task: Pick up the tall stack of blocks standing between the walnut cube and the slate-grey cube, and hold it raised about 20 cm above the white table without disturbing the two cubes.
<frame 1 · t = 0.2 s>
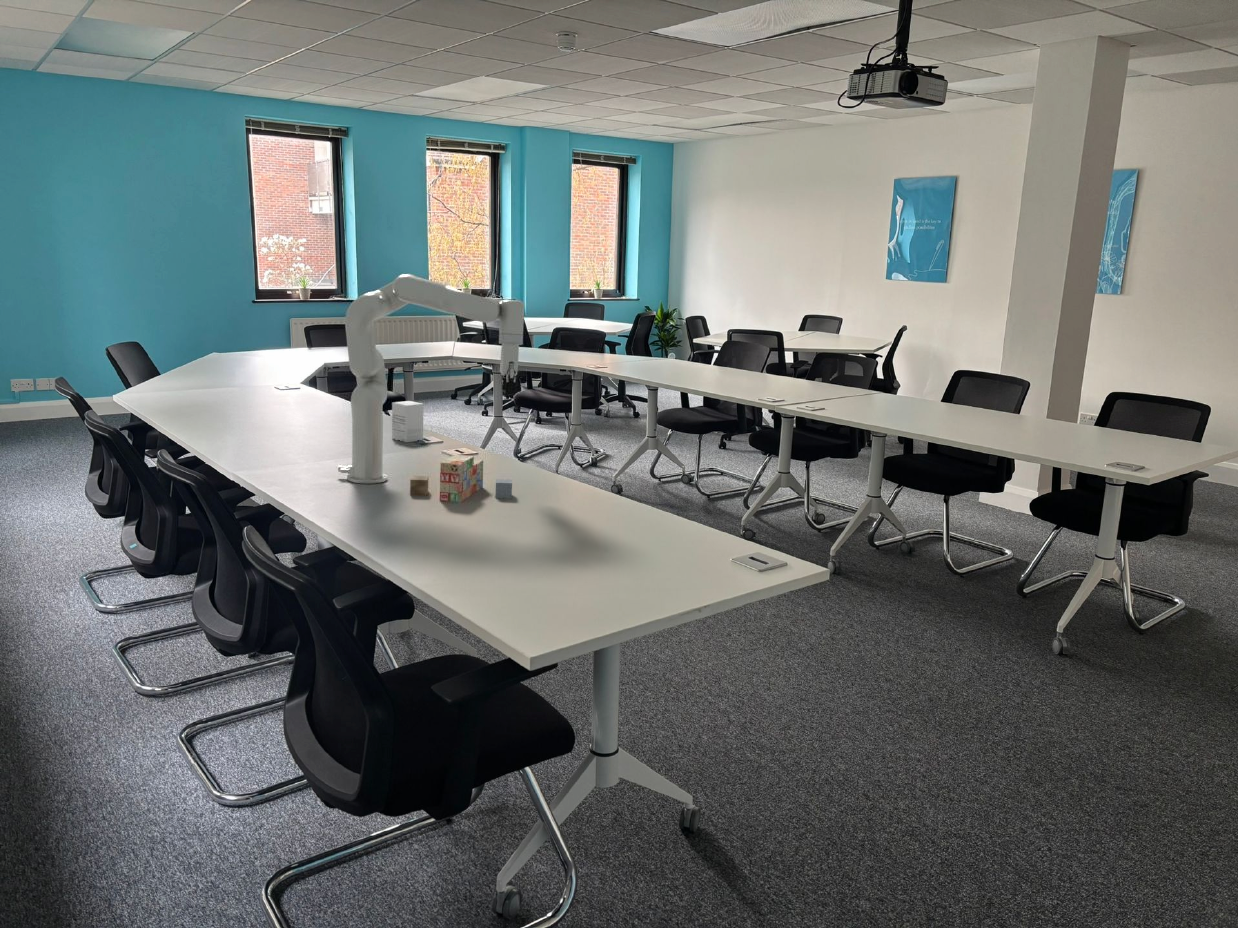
hand: (508, 392, 285), 31 cm above the table, tool pointing down, fingers open, 9 cm apart
slate cube: (503, 496, 278), on the table
walnut cube: (419, 493, 274), on the table
supplement box: (407, 440, 354), on the table
stack of blocks: (461, 494, 277), on the table
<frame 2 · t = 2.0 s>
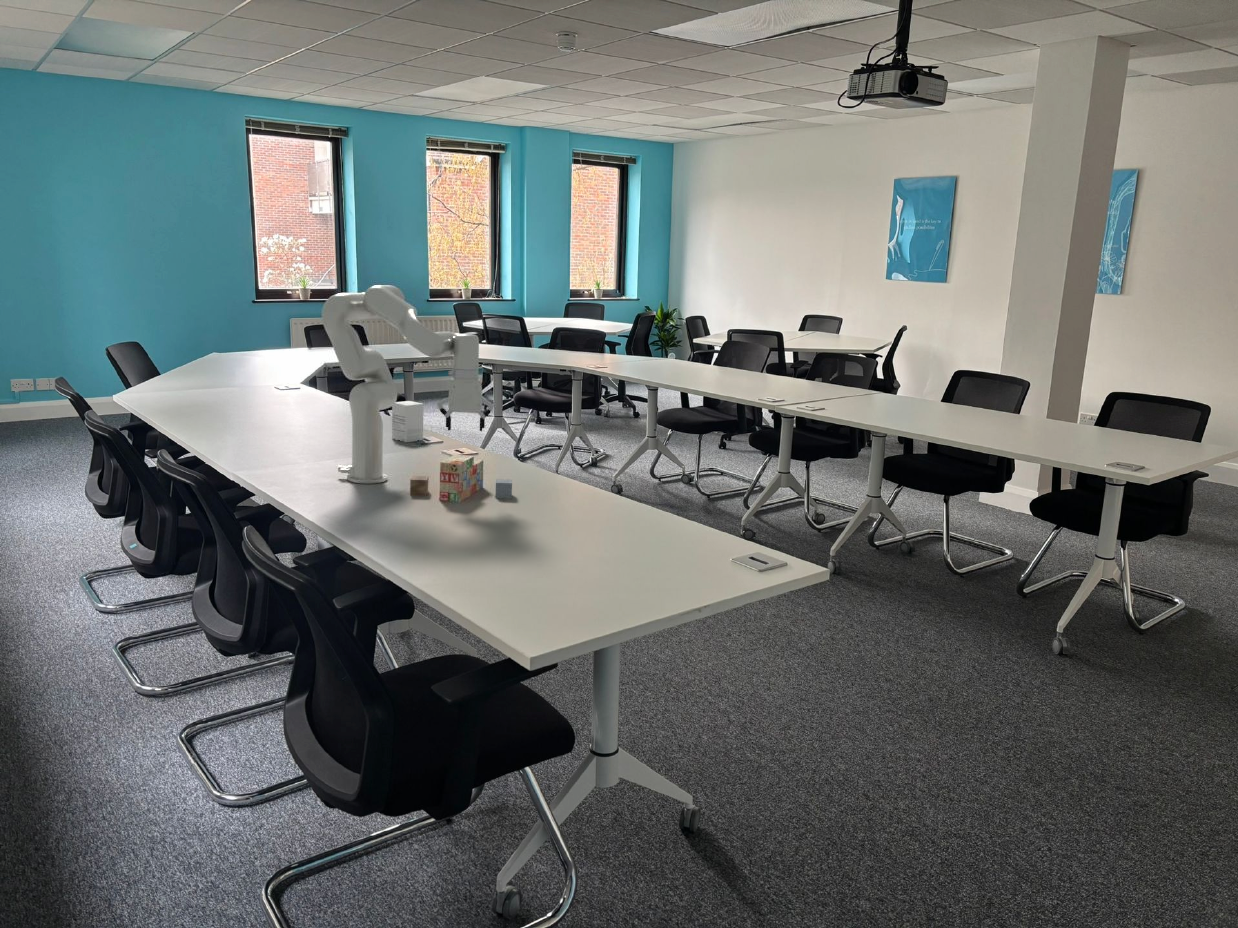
hand: (465, 430, 272), 20 cm above the table, tool pointing down, fingers open, 9 cm apart
nothing on the table moved.
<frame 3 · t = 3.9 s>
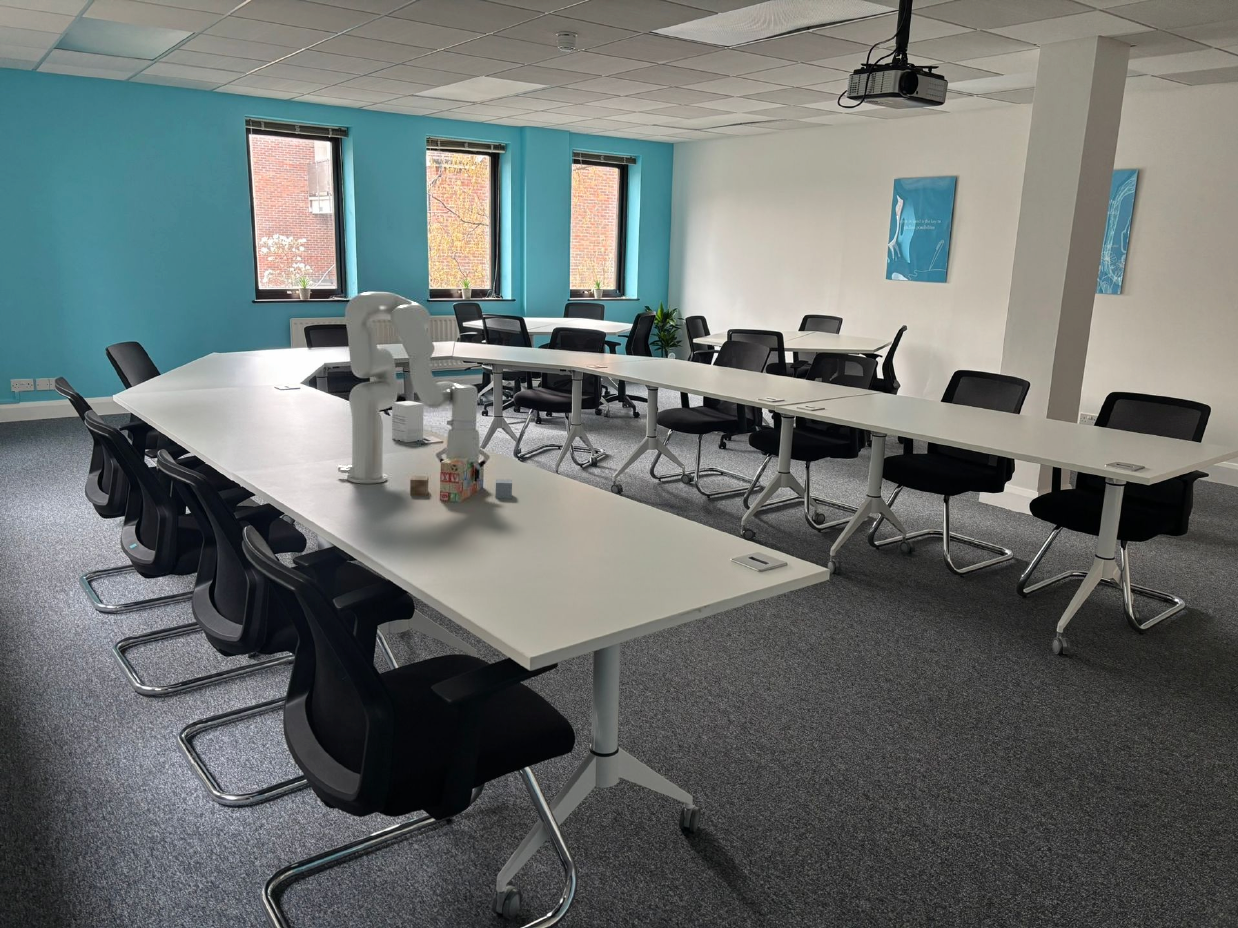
hand: (462, 480, 276), 4 cm above the table, tool pointing down, fingers open, 7 cm apart
stack of blocks: (462, 494, 278), on the table, touching gripper
everything else where it was.
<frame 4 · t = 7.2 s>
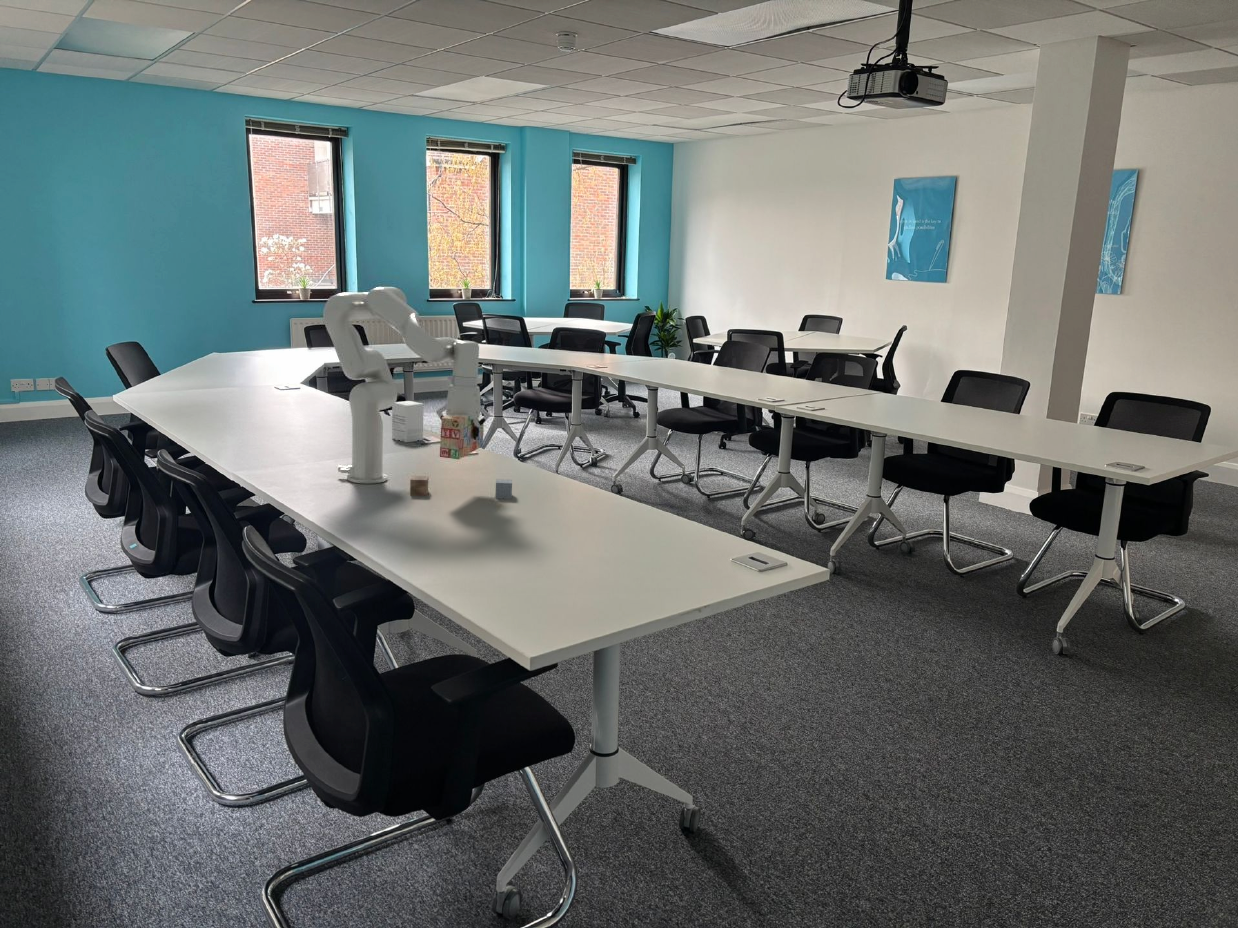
hand: (461, 437, 273), 18 cm above the table, tool pointing down, fingers closed on stack of blocks, 7 cm apart
stack of blocks: (461, 452, 275), point 13 cm above the table, touching gripper
everything else where it was.
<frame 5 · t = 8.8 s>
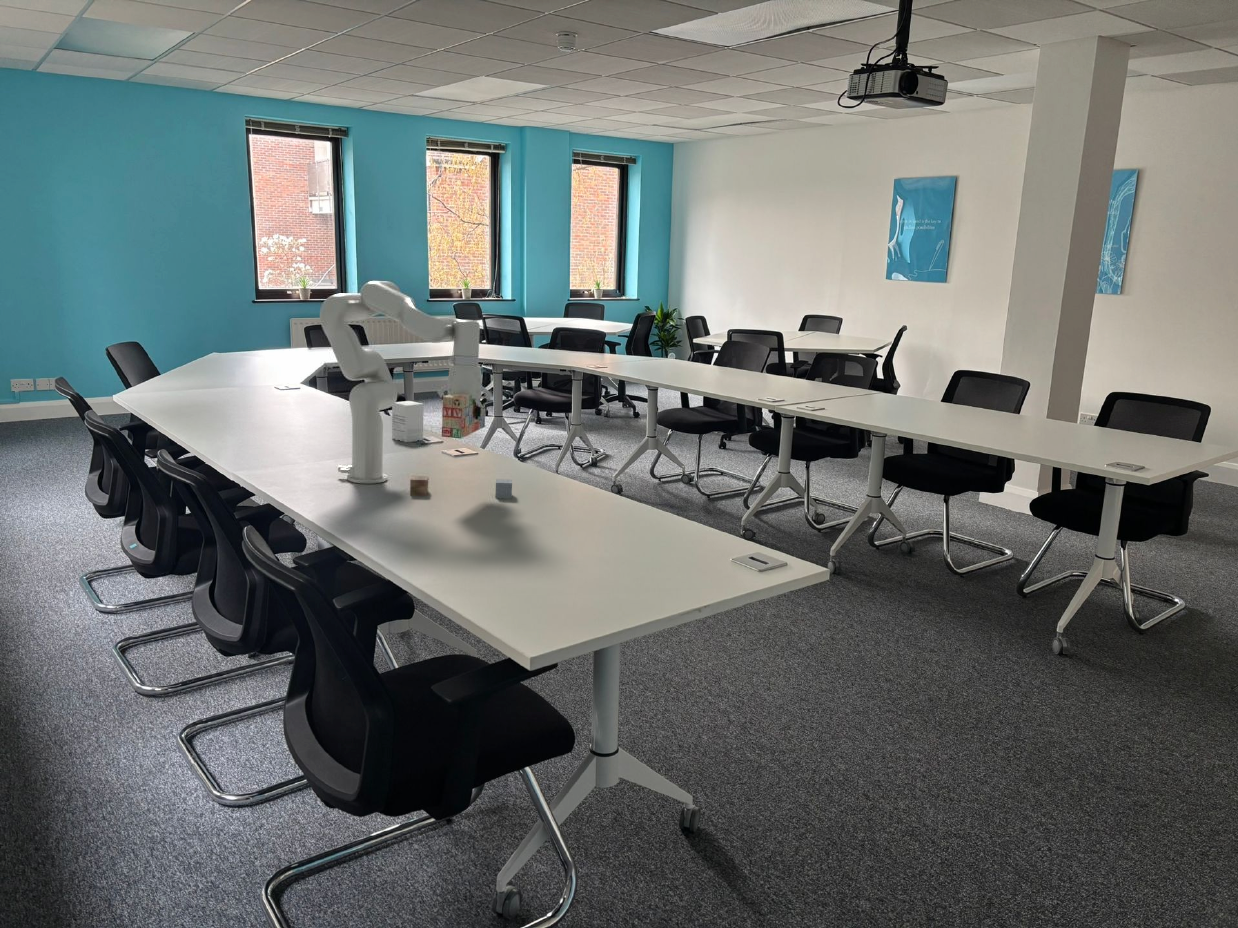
hand: (463, 417, 272), 24 cm above the table, tool pointing down, fingers closed on stack of blocks, 7 cm apart
stack of blocks: (463, 432, 273), point 19 cm above the table, touching gripper
everything else where it was.
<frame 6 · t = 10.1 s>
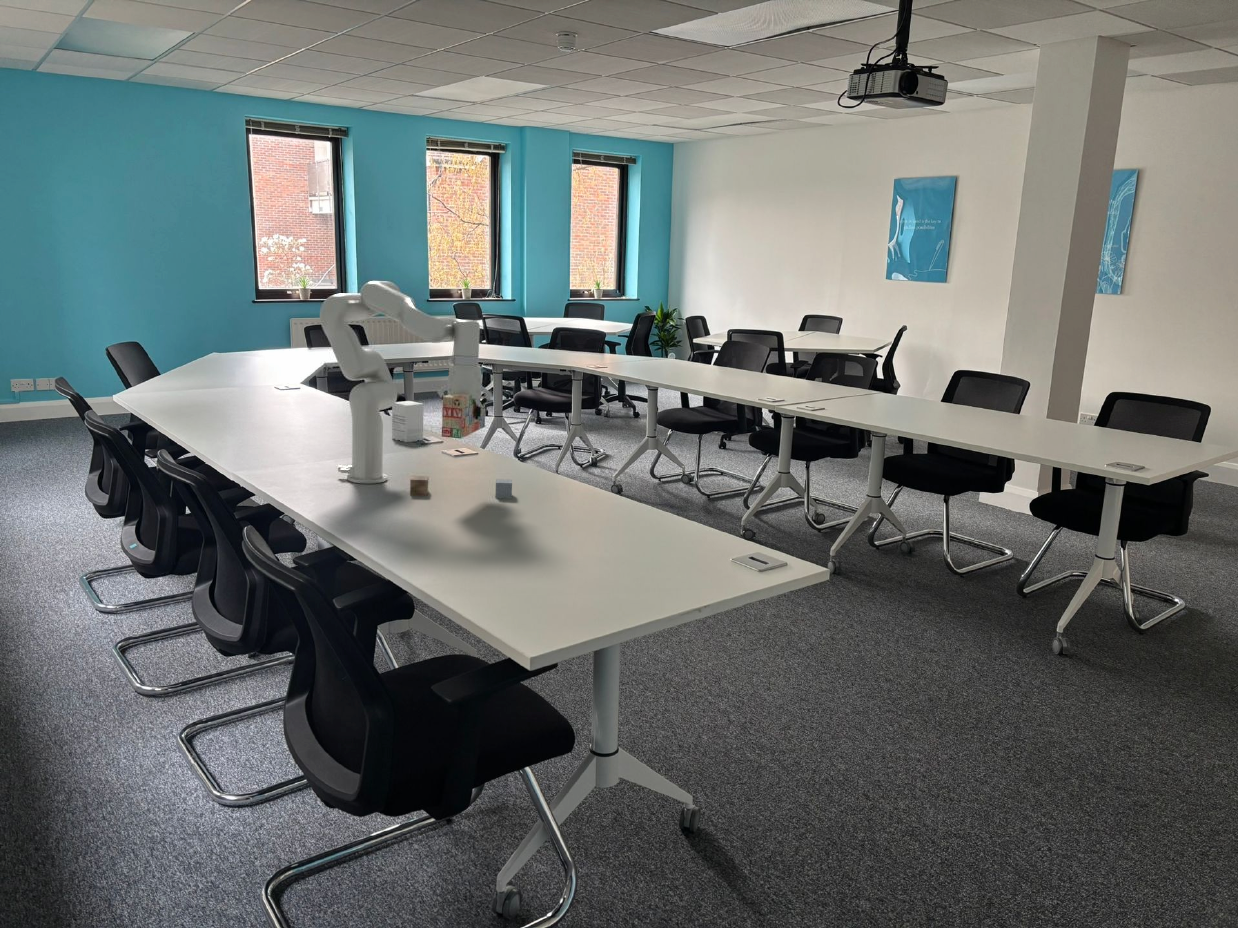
hand: (463, 417, 272), 24 cm above the table, tool pointing down, fingers closed on stack of blocks, 7 cm apart
stack of blocks: (463, 432, 273), point 19 cm above the table, touching gripper
everything else where it was.
at the end: stack of blocks point 19.4 cm above the table; walnut cube moved 0.1 cm from its start; slate cube moved 0.1 cm from its start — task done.
